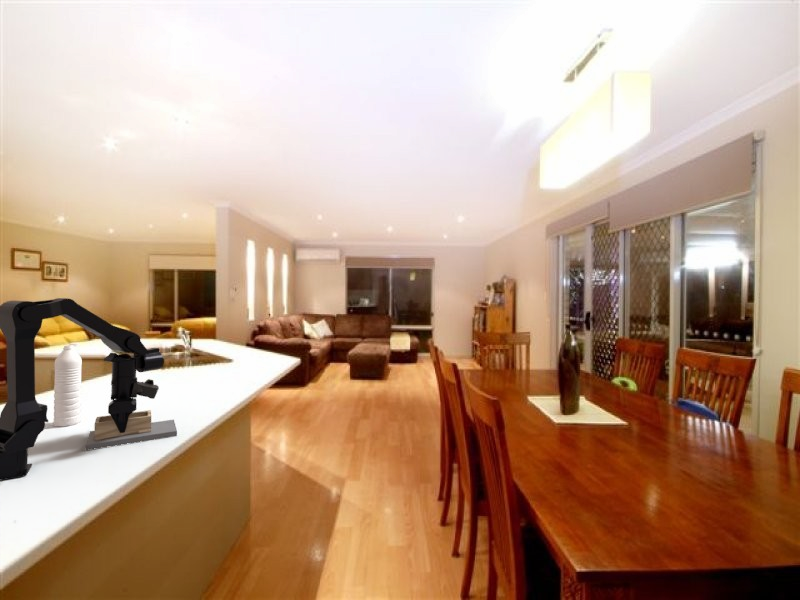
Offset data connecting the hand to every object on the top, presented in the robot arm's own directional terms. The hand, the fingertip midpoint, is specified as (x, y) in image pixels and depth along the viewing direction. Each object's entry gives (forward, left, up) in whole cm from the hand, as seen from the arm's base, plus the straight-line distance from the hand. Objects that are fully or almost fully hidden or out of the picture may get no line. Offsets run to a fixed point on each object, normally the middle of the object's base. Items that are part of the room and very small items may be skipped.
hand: (122, 429), depth 111 cm
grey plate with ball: (0, -2, -3) cm, 3 cm away
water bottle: (+24, +15, -3) cm, 28 cm away
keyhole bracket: (0, 0, -1) cm, 1 cm away
